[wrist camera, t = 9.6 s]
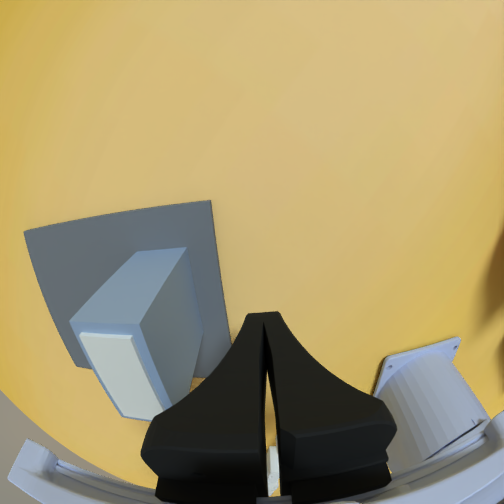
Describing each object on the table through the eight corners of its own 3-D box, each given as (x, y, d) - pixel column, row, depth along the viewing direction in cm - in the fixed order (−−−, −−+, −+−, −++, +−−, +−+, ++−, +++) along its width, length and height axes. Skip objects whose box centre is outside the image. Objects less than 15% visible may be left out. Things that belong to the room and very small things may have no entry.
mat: (236, 373, 18) (236, 377, 17) (78, 363, 18) (76, 366, 18) (210, 200, 14) (209, 201, 13) (26, 230, 14) (23, 231, 14)
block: (203, 331, 16) (181, 428, 9) (158, 331, 16) (120, 420, 9) (186, 247, 14) (137, 328, 7) (136, 251, 14) (66, 324, 7)
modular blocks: (269, 476, 26) (270, 500, 22) (217, 473, 26) (215, 497, 22) (320, 392, 19) (329, 430, 16) (235, 386, 19) (233, 427, 15)
